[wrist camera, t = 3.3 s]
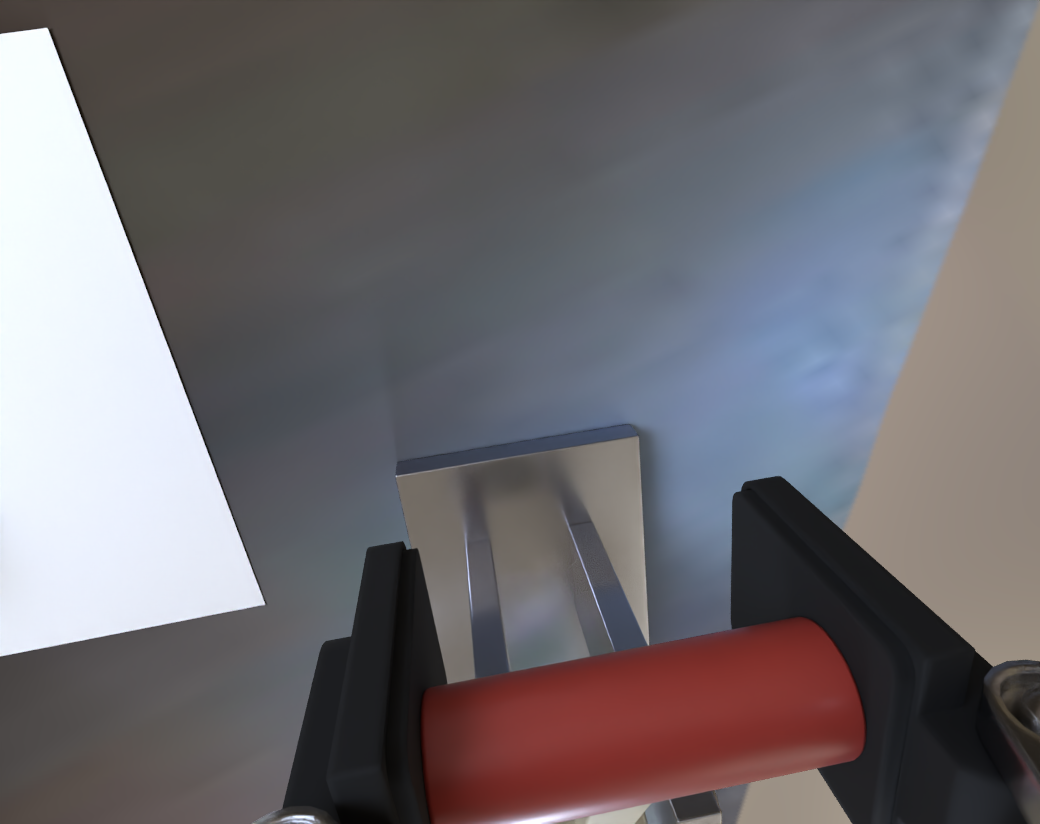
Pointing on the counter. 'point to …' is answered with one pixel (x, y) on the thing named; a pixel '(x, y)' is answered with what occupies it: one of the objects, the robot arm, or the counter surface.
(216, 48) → the counter surface
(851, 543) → the robot arm
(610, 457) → the bracket
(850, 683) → the lever
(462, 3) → the counter surface
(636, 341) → the counter surface
